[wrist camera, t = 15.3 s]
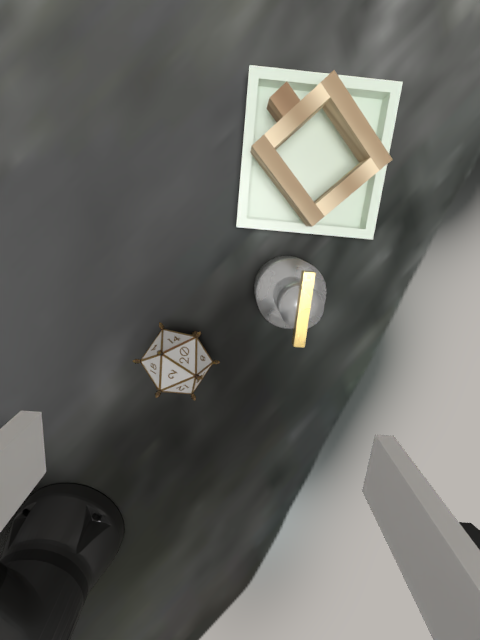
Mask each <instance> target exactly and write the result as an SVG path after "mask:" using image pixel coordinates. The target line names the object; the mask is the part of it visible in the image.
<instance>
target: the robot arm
mask: <svg viewBox="0 0 480 640" xmlns="http://www.w3.org/2000/svg"><path fill="white" fill-rule="evenodd" d="M45 473H46V462H45V450H44V438H43V425H42V413H41V412H34V411H20V412H19V413H18V414H17V415H16V416H14V417H13V418H12V419H11V420H10V421H9V422H8V423H6V424H5V425H4V426H3V427H2V428H1V429H0V532H1V531H2V529H3V528H4V527H5V526H6V524H7V523H8V522H9V520H10V519H11V518H12V516H13V515H14V514H15V512H16V511H17V510H18V508H19V507H20V506H21V504H22V503H23V502H24V501H25V499H26V498H27V497H28V495H29V494H30V493H31V491H32V490H33V489H34V487H35V486H36V485H37V483H38V482H39V481H40V479H41V478H42V477H43V476H44V474H45ZM362 492H363V493H364V496H365V498H366V500H367V502H368V504H369V506H370V508H371V510H372V512H373V515H374V516H375V519H376V521H377V523H378V525H379V527H380V529H381V531H382V533H383V535H384V538H385V540H386V542H387V544H388V546H389V548H390V550H391V552H392V554H393V556H394V558H395V560H396V563H397V565H398V567H399V569H400V571H401V573H402V575H403V577H404V579H405V581H406V583H407V586H408V588H409V590H410V592H411V594H412V596H413V598H414V600H415V602H416V604H417V606H418V608H419V611H420V613H421V615H422V617H423V619H424V621H425V623H426V625H427V627H428V629H429V631H430V634H431V636H432V638H433V640H480V530H478V529H477V528H476V527H475V526H474V525H472V524H471V523H462V522H458V521H457V519H456V518H455V517H454V516H453V514H452V513H451V511H450V510H449V509H448V508H447V506H446V505H445V504H444V502H443V501H442V499H441V498H440V497H439V495H438V494H437V493H436V492H435V490H434V489H433V487H432V486H431V485H430V484H429V482H428V481H427V479H426V478H425V477H424V476H423V474H422V473H421V472H420V470H419V469H418V468H417V466H416V465H415V464H414V462H413V461H412V460H411V458H410V457H409V456H408V454H407V453H406V452H405V450H404V449H403V448H402V446H401V445H400V444H399V442H398V441H397V440H396V438H395V437H394V436H389V435H375V437H374V441H373V446H372V450H371V454H370V459H369V463H368V468H367V473H366V477H365V481H364V486H363V490H362ZM123 535H124V523H123V519H122V516H121V514H120V512H119V510H118V509H117V507H116V506H115V505H114V504H113V503H112V502H111V501H110V500H109V499H108V498H107V497H106V496H104V495H103V494H101V493H100V492H98V491H96V490H94V489H91V488H89V487H86V486H82V485H77V484H55V485H50V486H47V487H44V488H42V489H40V490H38V491H36V492H35V493H34V494H32V495H31V496H30V497H29V498H28V499H27V500H26V502H25V503H24V504H23V506H22V507H21V508H20V510H19V511H18V513H17V514H16V516H15V518H14V520H13V523H12V526H11V529H10V532H9V535H8V538H7V541H6V544H5V547H4V550H3V553H2V556H1V559H0V640H70V639H71V636H72V634H73V631H74V628H75V626H76V623H77V621H78V618H79V616H80V613H81V610H82V608H83V605H84V603H85V600H86V598H87V595H88V593H89V591H90V590H91V589H92V587H93V586H94V585H95V584H96V582H97V581H98V580H99V578H100V577H101V576H102V574H103V573H104V572H105V570H106V569H107V568H108V566H109V565H110V564H111V562H112V561H113V560H114V558H115V556H116V554H117V552H118V550H119V547H120V544H121V541H122V539H123Z"/></svg>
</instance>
